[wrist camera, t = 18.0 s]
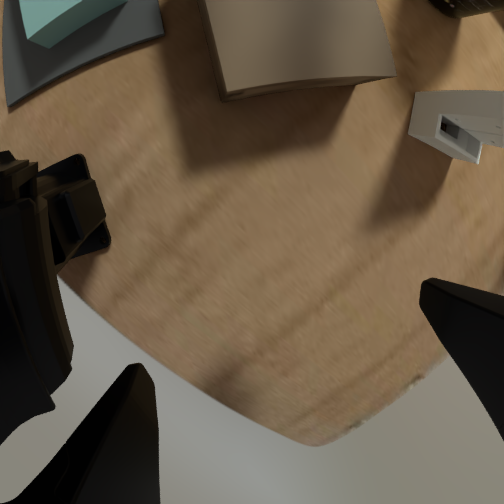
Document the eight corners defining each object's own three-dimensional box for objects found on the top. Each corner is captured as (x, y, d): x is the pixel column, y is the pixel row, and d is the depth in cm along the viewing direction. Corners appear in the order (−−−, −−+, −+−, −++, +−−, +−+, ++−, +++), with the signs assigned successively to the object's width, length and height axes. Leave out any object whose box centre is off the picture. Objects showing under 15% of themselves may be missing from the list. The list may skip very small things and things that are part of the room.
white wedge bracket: (389, 63, 14) (521, 92, 8) (431, 112, 20) (517, 140, 14) (380, 113, 15) (515, 153, 9) (424, 148, 21) (510, 180, 16)
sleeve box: (221, 103, 16) (227, 91, 11) (189, -34, 11) (186, -71, 7) (356, 84, 16) (397, 76, 12) (318, -41, 12) (344, -71, 7)
